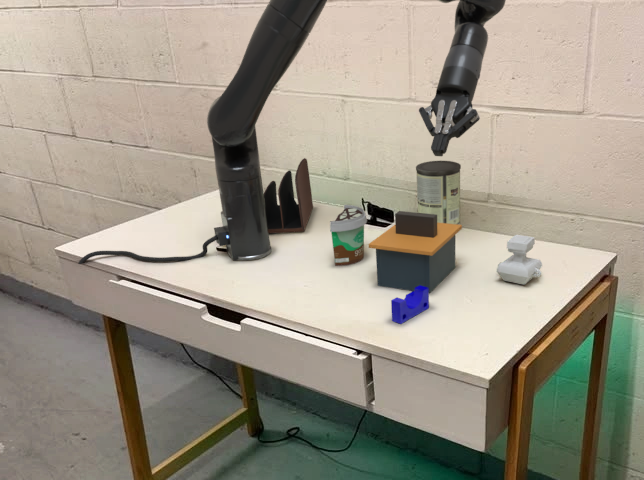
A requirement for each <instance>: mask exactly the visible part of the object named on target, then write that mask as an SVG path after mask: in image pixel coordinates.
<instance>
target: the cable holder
mask: <svg viewBox="0 0 644 480" xmlns="http://www.w3.org/2000/svg"><path fill="white" fill-rule="evenodd" d="M429 295H430V293H429V288H428V287H424V286H421V285H419V286H417V287H415V290H414V291H411V292H409V293H407V294H406V295H405V297H404V298H400V297H397V296H396V297H394V298H392V299H391V300H390V304H391V322H393V323H397V324H400V325H402V324H404V323H405V322H408V321H409V320H411V319H412V318H414V317H417V315H420V314H421V313H423V312H425V311H427V310H429V308H430V297H429Z"/></svg>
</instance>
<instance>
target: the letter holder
mask: <svg viewBox="0 0 644 480" xmlns="http://www.w3.org/2000/svg"><path fill="white" fill-rule="evenodd" d="M294 175H295V176H294V181H293V173H292V171H291V170H290V169H289V170H287V171H286V172H285V173H284V175H283V176H282V178H281V180H280V183H279V186H278V190H277V183H276V181H275V180H271V181H270V183H269V184H268V185H267V187H266V188H265V190H264V191H263V193H264V200H265V208H266V216H267V223H268V231H269V234H288V233H289V234H290V233H291V234H292V233H304V232H306V227H307V225H308V222H309V220H310V217H311V214H312V211H313V209H314V202H313V196H312V195H313V194H312V187H311V179H310V171H309V165H308V159H307V158H305V157H304V158H302V159H301V160H300V161H299V164H298V166H297V169H296V172H295V174H294ZM293 182H295V183H294V184H295V192H296V199H297V201H296V199H295V193H294V184H293ZM278 203H279V204H278Z"/></svg>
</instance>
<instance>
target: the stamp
mask: <svg viewBox="0 0 644 480" xmlns="http://www.w3.org/2000/svg"><path fill="white" fill-rule="evenodd" d="M535 237H536V236H535ZM535 237H534V236H528V235H521V234H514V235H513V236H512V237H511V238H510V239H508V240H507V241H506V242H507V243H506V249H507V251H508V253H512V255H510V256H509V257H508V258H506V259H505V260H504V261H501V262H499V263H498V264H497V267H496V273H497V274H498V275H499V276H500V277H501V279H502V281H504V282H510V283H514V284H519V285H524V286H525V285H526V284H527V283H529V282H530V281H531V280H532V279H533V278H539V277H541V276H542V271H541V268H542V267H543V262H542V261H541V259H539V258H533V257H527V254H528V253H529V252H530V251H531V250H532V249H533V248H534V246H535V244H536V239H535Z"/></svg>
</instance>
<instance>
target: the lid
mask: <svg viewBox="0 0 644 480" xmlns="http://www.w3.org/2000/svg"><path fill="white" fill-rule="evenodd" d="M394 221H395V223H394V225H392V226H391V227H390V228H388V229H387V230H386V231H384V232H383V233H381V234H380V235H379V236H377V237H376V238H375V239H374V240H372V241H371V242H369V243H368V249H374V250H376V249H382V250H390V251H398V252H406V253H414V254H422V255H430V256H432V255H433V254H435V253H436V252H437V251H438V250H439V249H440V248H441V247H442V246H443V245H444V244H446V243H447V242H448V241H449V240H450V239H451V238H452V237H453V236H454V235H455V236H456V235H457V234H458V233H459V232H460V231H461V230H462V229H463V224H460V225H457V224H447V223H437V215H435V214H425V213H418V212H413V211H406V210H405V211H404V210H399V211H397V212H395V214H394Z"/></svg>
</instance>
